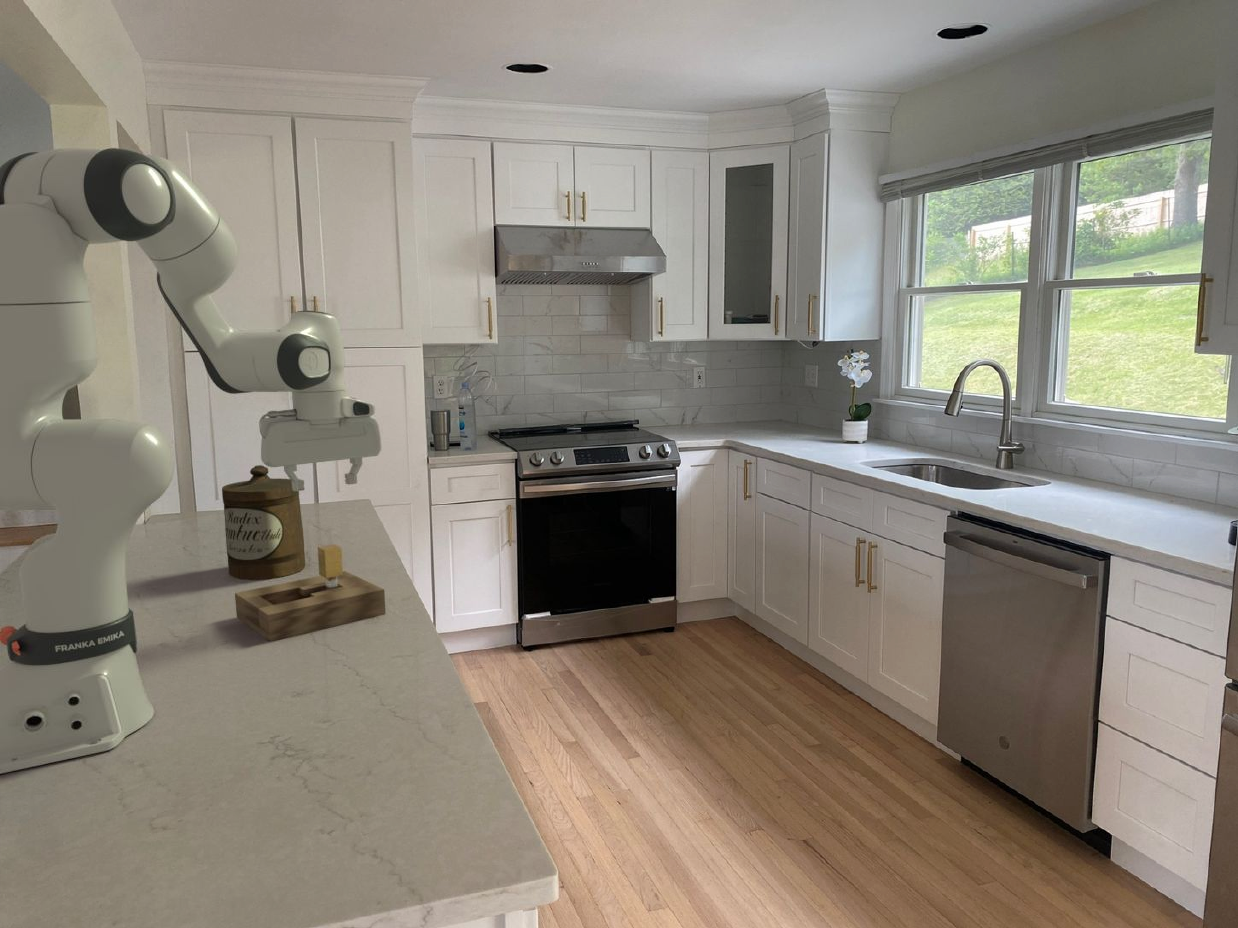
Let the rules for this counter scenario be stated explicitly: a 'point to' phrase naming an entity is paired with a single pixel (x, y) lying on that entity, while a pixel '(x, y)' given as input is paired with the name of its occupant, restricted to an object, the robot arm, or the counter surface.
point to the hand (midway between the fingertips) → (325, 487)
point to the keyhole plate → (308, 605)
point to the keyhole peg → (330, 564)
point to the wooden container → (263, 527)
